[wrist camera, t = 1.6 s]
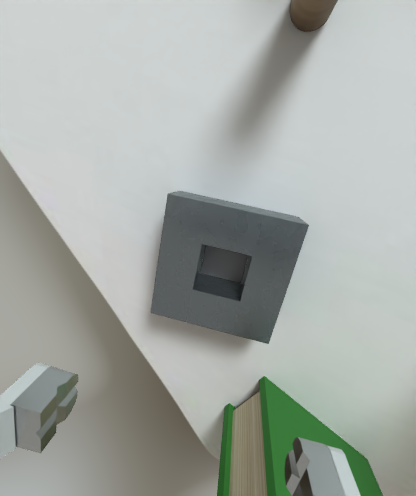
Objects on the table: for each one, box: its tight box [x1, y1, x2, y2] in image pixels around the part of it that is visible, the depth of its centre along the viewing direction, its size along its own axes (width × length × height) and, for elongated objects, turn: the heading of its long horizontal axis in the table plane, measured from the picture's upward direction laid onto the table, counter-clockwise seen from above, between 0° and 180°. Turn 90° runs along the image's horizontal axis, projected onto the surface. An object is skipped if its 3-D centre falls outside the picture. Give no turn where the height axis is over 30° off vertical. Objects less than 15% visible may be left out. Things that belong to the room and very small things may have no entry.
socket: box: [151, 191, 309, 344], centre depth 24 cm, size 12×12×4 cm
